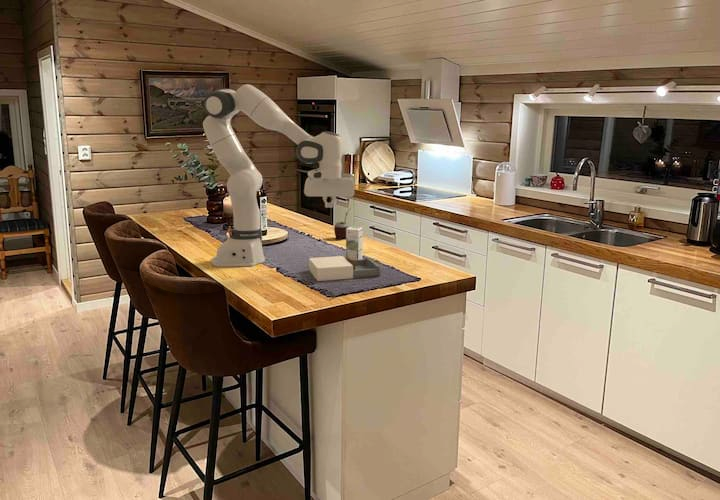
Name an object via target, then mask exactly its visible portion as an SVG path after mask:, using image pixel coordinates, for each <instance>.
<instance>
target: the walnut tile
mask: <svg viewBox="0 0 720 500" xmlns="http://www.w3.org/2000/svg"><path fill="white" fill-rule="evenodd" d="M347 261H348V262H349V263H350V264H352V265H353V270H355V259H354V258H353V257H347Z"/></svg>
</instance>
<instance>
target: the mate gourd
mask: <svg viewBox="0 0 720 500" xmlns="http://www.w3.org/2000/svg"><path fill="white" fill-rule="evenodd" d="M350 210H351V208H348V210H347V212H346V213H345V217H344V220H343V222H342V221H340V222H339V221H338V222H336V223H335V224H334V227H333V230H334V231H333V232H334V235H335V238H334V239H335V240H339V241H342V240H346V229H347V228H348V227H349V225H348V223H347V222H346V220H347V216H348V213H349V212H350Z"/></svg>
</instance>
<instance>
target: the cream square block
mask: <svg viewBox="0 0 720 500" xmlns="http://www.w3.org/2000/svg"><path fill="white" fill-rule="evenodd" d="M308 271H309V272H310V273H311V275H312V276H313V277H314V279H315V280H316V281H317V282H322V281H324V282H325V281H335V280H336V281H337V280H349V279H354V278H353V265H352V264H350V263H349V262H348V261H347V260H346V257H344V256H343V255H338V256H337V255H336V256H335V255H334V256H322V257H321V256H320V257H308Z"/></svg>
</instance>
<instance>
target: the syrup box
mask: <svg viewBox="0 0 720 500" xmlns="http://www.w3.org/2000/svg"><path fill="white" fill-rule="evenodd" d="M363 234H364V233H363V227H362V226H348V228H347V229H346V239H345V242H346V243H345V252H346V253H345V259H346V260H347V257H353V258H354V259H355V260H360V259H363Z"/></svg>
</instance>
